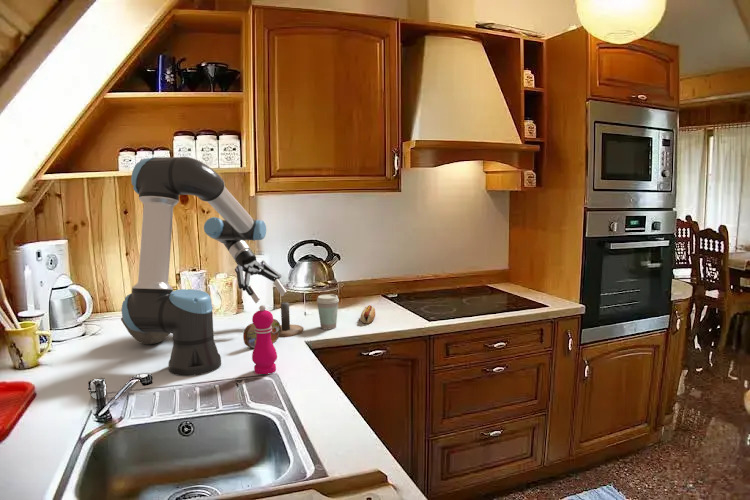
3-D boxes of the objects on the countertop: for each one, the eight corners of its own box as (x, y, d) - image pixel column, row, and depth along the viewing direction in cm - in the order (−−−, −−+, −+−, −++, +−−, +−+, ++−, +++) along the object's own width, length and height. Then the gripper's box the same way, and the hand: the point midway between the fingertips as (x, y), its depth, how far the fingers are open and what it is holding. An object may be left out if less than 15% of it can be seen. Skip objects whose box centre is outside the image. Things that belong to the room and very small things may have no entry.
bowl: (151, 354, 174) (149, 324, 173) (111, 347, 182) (108, 318, 181) (192, 338, 191) (191, 311, 190) (154, 332, 199) (152, 306, 198)
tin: (248, 351, 176) (247, 326, 174) (242, 349, 177) (240, 325, 176) (282, 340, 187) (281, 316, 186) (275, 338, 189) (274, 315, 188)
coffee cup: (336, 330, 197) (335, 299, 196) (314, 329, 199) (313, 298, 198) (342, 324, 206) (341, 294, 204) (321, 323, 207) (320, 293, 206)
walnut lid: (291, 338, 189) (290, 308, 187) (261, 335, 194) (259, 305, 192) (310, 329, 201) (309, 300, 199) (280, 325, 206) (279, 297, 204)
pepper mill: (266, 377, 152) (263, 309, 149) (247, 373, 156) (244, 306, 153) (282, 369, 158) (279, 303, 156) (263, 365, 162) (260, 301, 159)
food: (373, 325, 205) (373, 312, 204) (359, 324, 205) (358, 312, 205) (376, 315, 219) (376, 303, 218) (363, 315, 219) (363, 303, 219)
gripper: (262, 257, 219) (289, 296, 213) (212, 265, 199) (241, 310, 193) (270, 245, 216) (299, 285, 209) (221, 253, 196) (250, 297, 189)
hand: (271, 297), depth 201 cm, fingers open, 13 cm apart
